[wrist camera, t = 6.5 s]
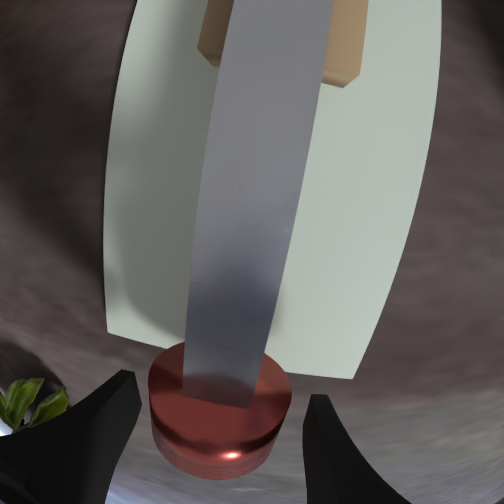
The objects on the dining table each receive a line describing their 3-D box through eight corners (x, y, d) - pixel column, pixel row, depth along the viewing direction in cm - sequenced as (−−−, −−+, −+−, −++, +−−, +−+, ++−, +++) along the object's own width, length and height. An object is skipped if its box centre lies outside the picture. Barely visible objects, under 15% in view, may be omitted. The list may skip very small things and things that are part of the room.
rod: (366, -54, 6) (402, -126, 2) (271, 408, 14) (267, 496, 9) (238, -75, 7) (219, -153, 2) (170, 388, 14) (138, 469, 9)
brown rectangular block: (352, 23, 9) (368, -1, 7) (342, 88, 10) (359, 75, 8) (226, 2, 9) (215, -26, 7) (212, 66, 10) (197, 48, 8)
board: (425, -82, 6) (431, -89, 5) (349, 366, 16) (352, 379, 15) (198, -119, 6) (194, -128, 5) (115, 322, 16) (108, 332, 15)
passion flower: (109, 403, 26) (86, 501, 19) (17, 359, 23) (-8, 457, 17) (110, 405, 17) (81, 545, 11) (-22, 338, 14) (-51, 476, 8)
